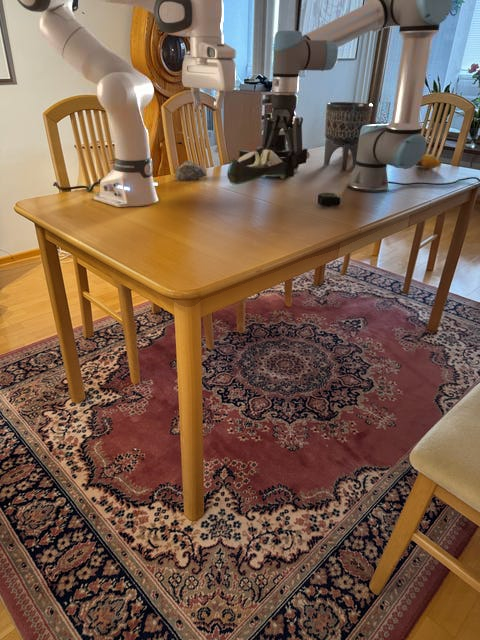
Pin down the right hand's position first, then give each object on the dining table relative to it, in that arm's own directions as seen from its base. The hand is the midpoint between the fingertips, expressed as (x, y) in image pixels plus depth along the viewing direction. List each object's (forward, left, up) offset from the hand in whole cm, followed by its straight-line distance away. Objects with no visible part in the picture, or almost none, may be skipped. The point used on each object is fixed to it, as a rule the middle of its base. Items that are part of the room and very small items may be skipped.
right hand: (280, 174), depth 143 cm
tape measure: (-17, -7, -12) cm, 22 cm away
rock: (+35, -39, -12) cm, 53 cm away
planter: (-30, -73, -12) cm, 80 cm away
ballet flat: (+6, +6, 0) cm, 8 cm away
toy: (-69, -79, -12) cm, 105 cm away
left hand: (+22, +7, +19) cm, 30 cm away
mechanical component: (-1, -55, -12) cm, 56 cm away
